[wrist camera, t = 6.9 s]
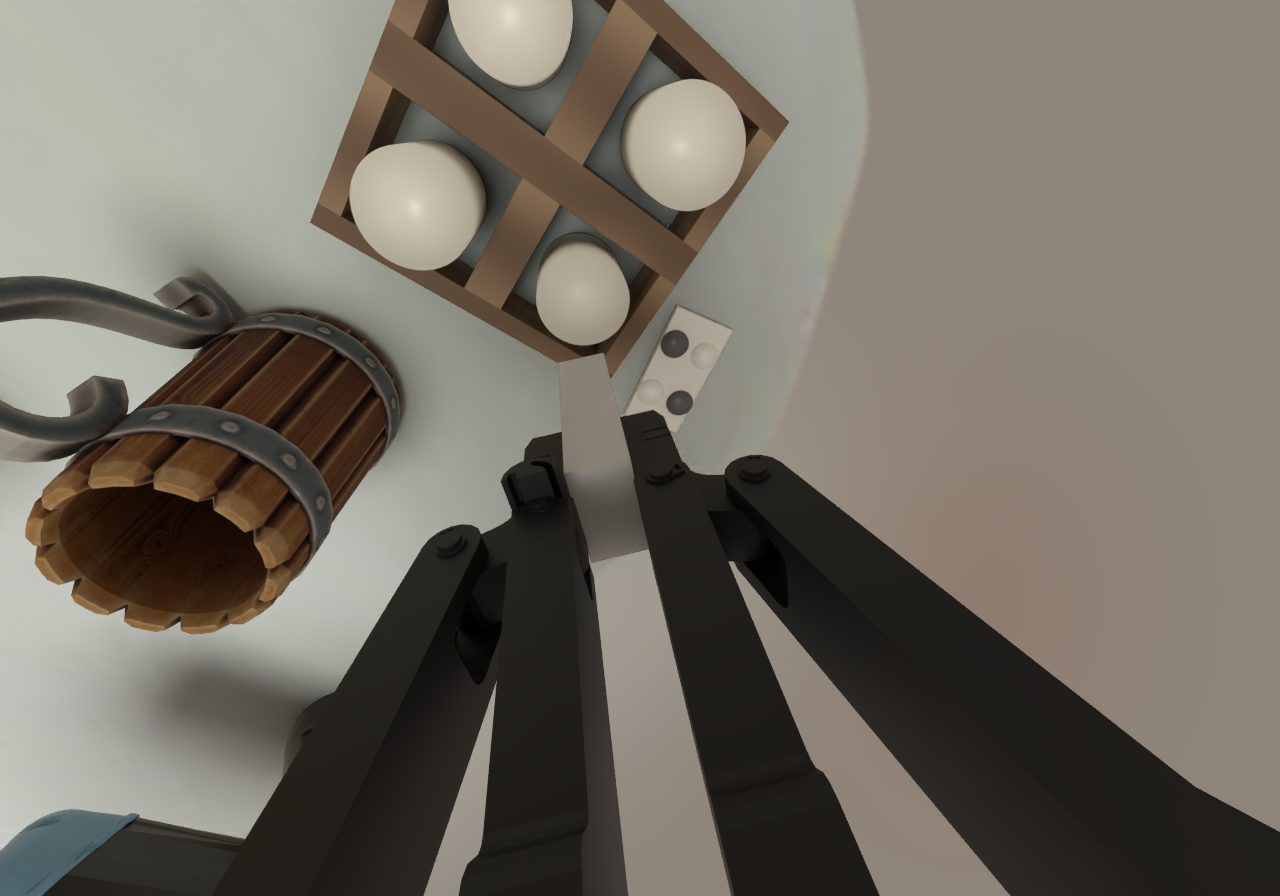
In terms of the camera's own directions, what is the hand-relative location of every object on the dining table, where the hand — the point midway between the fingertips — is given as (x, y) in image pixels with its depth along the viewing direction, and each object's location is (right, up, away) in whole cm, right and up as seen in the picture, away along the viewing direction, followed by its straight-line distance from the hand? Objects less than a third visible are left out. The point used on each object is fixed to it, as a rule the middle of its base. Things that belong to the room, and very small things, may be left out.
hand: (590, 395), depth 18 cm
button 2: (-2, +8, +13) cm, 15 cm away
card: (+4, +3, +17) cm, 18 cm away
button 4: (+3, +13, +8) cm, 15 cm away
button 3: (-4, +17, +7) cm, 19 cm away
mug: (-20, +4, +14) cm, 24 cm away
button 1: (-8, +10, +8) cm, 15 cm away
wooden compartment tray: (-3, +13, +10) cm, 17 cm away
